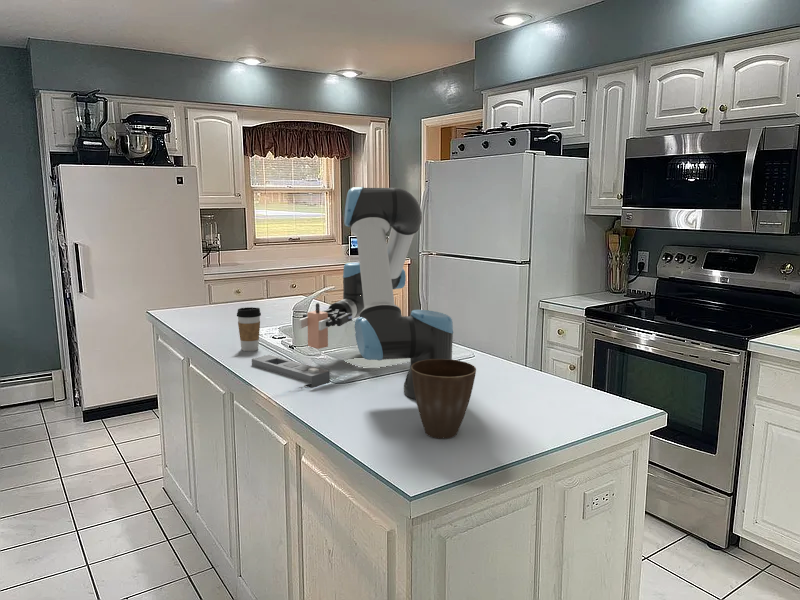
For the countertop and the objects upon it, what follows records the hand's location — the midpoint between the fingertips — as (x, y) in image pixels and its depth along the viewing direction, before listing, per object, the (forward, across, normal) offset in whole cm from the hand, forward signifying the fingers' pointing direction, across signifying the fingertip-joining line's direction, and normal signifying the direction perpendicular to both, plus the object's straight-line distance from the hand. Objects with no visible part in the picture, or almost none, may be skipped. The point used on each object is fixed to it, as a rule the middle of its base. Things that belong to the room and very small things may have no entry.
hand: (309, 325), depth 188 cm
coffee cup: (-18, +34, -16) cm, 42 cm away
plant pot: (+32, -52, -15) cm, 63 cm away
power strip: (+5, +4, -15) cm, 17 cm away
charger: (-5, 0, -8) cm, 9 cm away
